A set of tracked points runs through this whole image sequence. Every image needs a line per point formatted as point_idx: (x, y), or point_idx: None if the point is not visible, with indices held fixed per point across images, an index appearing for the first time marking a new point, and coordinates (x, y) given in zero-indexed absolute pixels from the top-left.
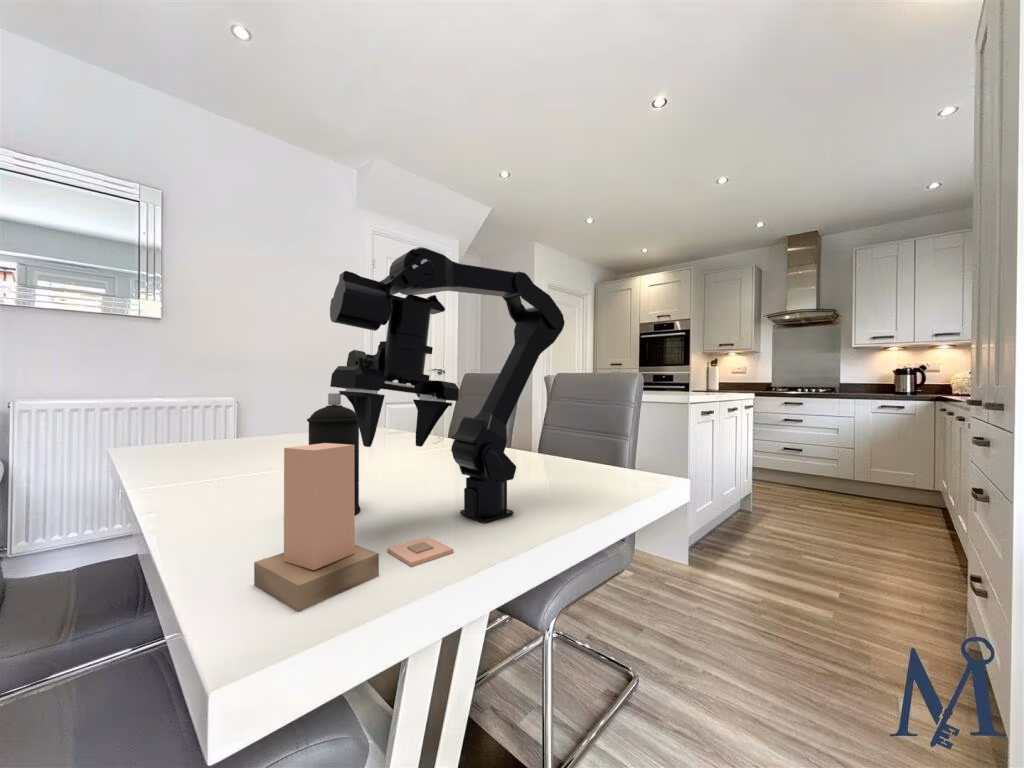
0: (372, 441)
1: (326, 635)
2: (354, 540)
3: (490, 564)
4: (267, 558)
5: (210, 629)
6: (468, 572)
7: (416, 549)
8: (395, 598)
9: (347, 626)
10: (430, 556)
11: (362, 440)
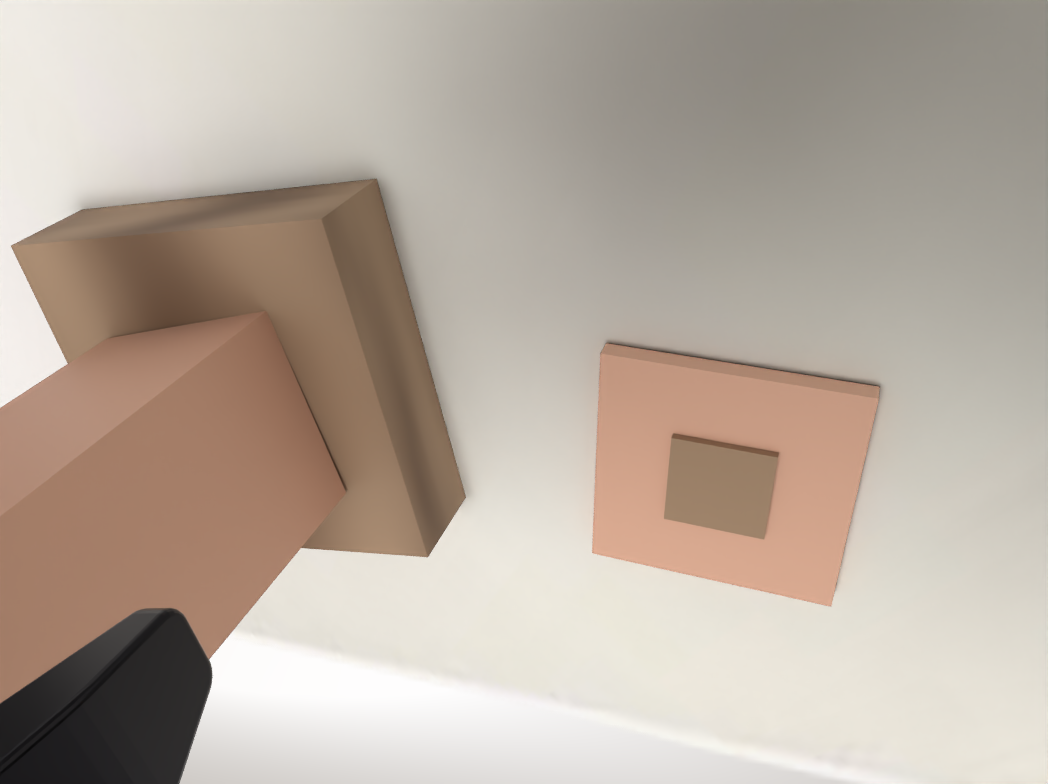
0: (188, 749)
1: (250, 619)
2: (317, 526)
3: (845, 754)
4: (51, 250)
5: (16, 389)
6: (729, 721)
7: (683, 496)
8: (444, 637)
9: (297, 630)
10: (693, 574)
11: (84, 653)
